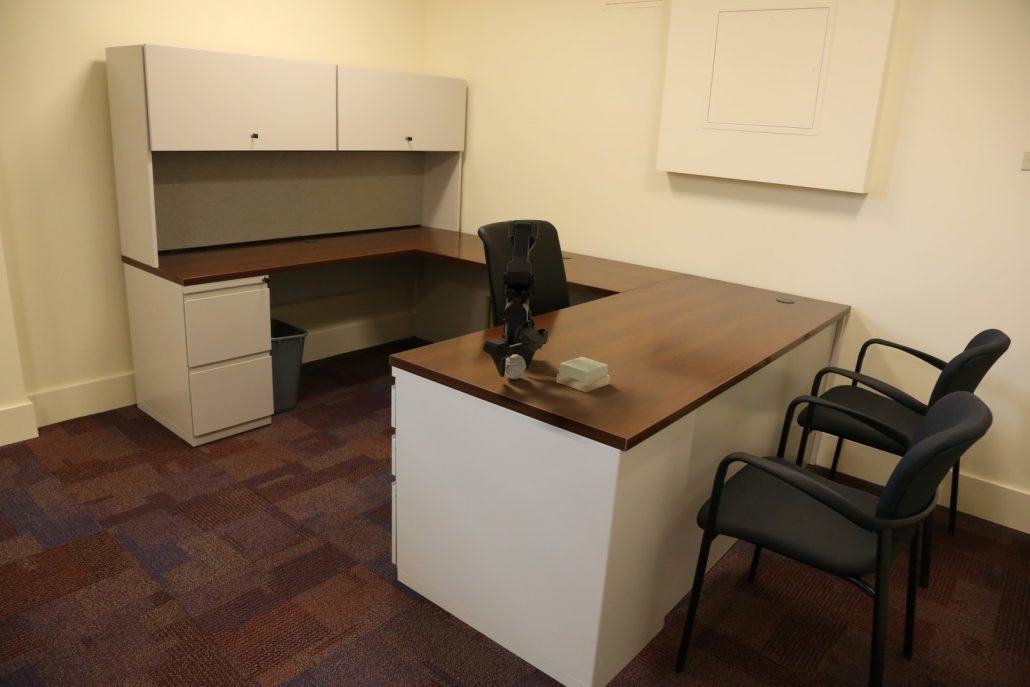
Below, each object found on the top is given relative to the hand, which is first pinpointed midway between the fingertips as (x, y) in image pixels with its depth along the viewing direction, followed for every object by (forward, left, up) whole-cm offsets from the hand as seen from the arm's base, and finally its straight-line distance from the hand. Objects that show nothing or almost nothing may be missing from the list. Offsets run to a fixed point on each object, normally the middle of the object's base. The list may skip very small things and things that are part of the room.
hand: (514, 373), depth 192 cm
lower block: (+14, +12, -2) cm, 19 cm away
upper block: (+14, +12, +1) cm, 18 cm away
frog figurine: (0, 0, -2) cm, 2 cm away
